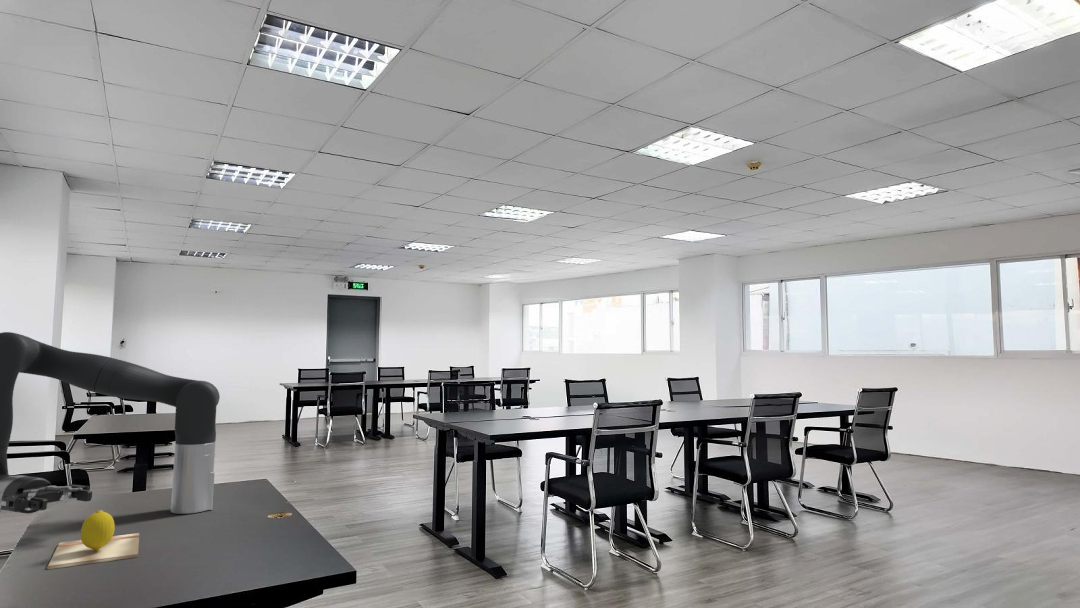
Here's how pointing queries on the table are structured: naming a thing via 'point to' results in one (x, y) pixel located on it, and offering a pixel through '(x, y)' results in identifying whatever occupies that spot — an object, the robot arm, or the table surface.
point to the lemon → (97, 530)
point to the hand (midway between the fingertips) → (68, 500)
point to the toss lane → (81, 555)
